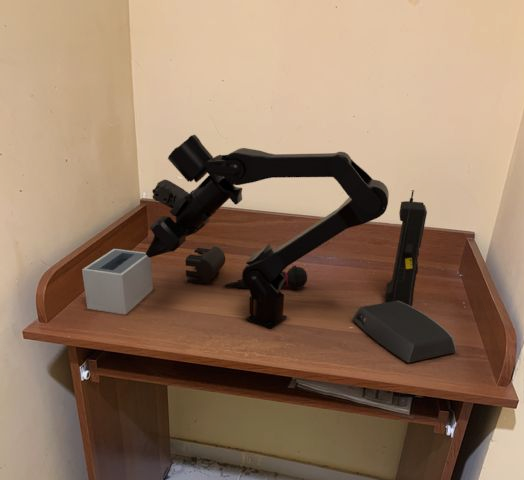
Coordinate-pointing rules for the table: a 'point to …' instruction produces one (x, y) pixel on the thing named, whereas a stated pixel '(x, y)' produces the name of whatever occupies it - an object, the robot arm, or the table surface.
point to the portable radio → (407, 252)
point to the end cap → (204, 264)
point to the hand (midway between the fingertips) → (156, 248)
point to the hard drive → (405, 331)
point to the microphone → (294, 276)
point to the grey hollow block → (117, 281)
